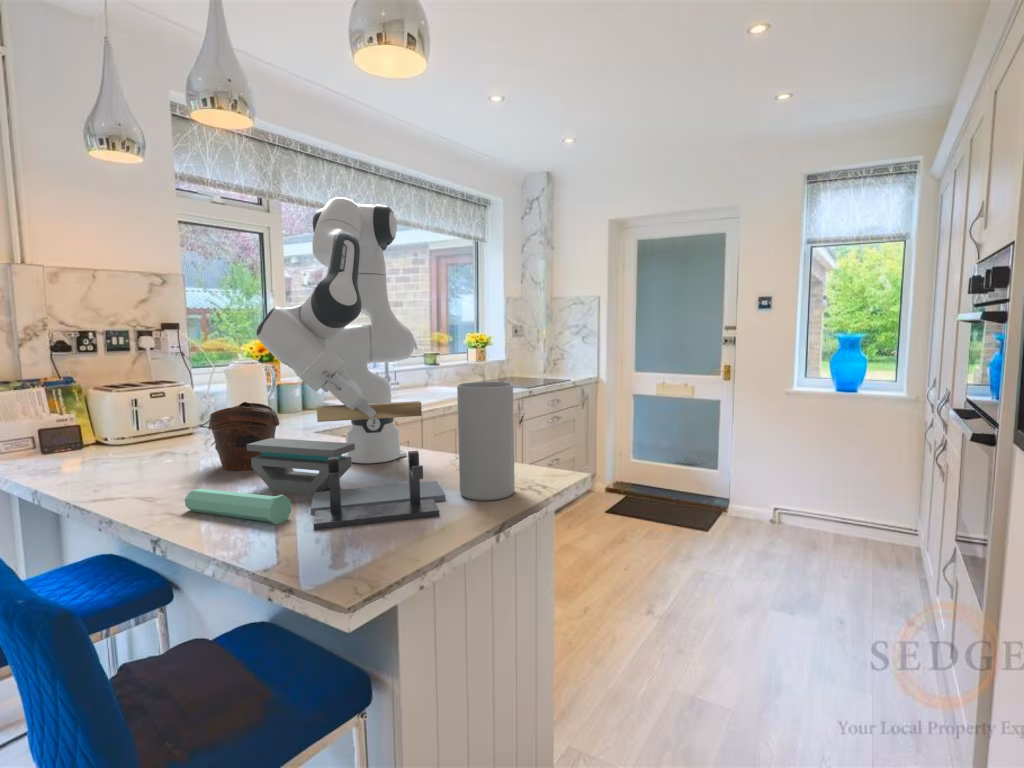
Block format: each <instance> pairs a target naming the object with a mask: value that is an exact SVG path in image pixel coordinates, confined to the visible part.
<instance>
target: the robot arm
mask: <svg viewBox="0 0 1024 768" xmlns="http://www.w3.org/2000/svg"><path fill="white" fill-rule="evenodd" d="M397 229H398V222H397V219H396V217H395V214H394V211H393V210H392V208H390V206H387V205H385V204H383V205H382V204H378V203H377V204H375V205H374V204H363V203H361V204H360V203H356V202H355V201H353V200H352V199H350V198H347V197H334V198H332V199H330V200H328V201H327V202H326V204H325V205H324V207H322V208H320V209H317V211H316V212H315V213H314V214H313V217H312V231H313V237H312V254H313V255H314V257H315V258H316V259H317V261H318V262H319V263H320V264H322V265H323V266H325V267H327V273H326V276H325V277H324V278H322V280H321V281H319V283H318V284H317V285H316V287H315V288H314V290H313V291H312V293H311V294H310V295H309V297H308V298H307V299H306V300H305V302H304V303H303V304H302V303H301V304H299V305H297V306H292V307H291V306H290V307H280V306H274V307H272V308H271V309H270V310H269V311H268V313H267V314H266V316H265V317H264V319H263V320H262V321H261V322H260V324H259V325H258V326H257V328H256V332H255V333H256V337H257V339H258V340H259V342H260V343H261V344H262V345H263V347H264V348H265V349H266V350H267V351H268V352H269V353H270V354H271V355H273V357H275V358H276V359H277V360H278V361H279V362H281V363H282V364H283V365H285V366H288V367H289V368H290V369H292V370H293V371H294V372H293V373H295V375H296V376H297V377H298V378H299V379H301V380H302V381H303V382H304V383H305V384H306V385H307V386H308V387H309V388H311V389H312V390H313V391H314V392H317V391H319V390H320V389H321V390H323V392H325V393H328V392H330V393H331V394H332V395H333V396H334V397H335V398H336V399H337V400H338V401H339V402H341V403H342V405H345V406H346V407H348V408H349V409H350V410H354V409H355V408H356V407H357V408H358V409H359V410H360V411H362V412H364V413H365V414H366V415H367V416H369V417H370V418H372V417H373V416H374V415H375V414H376V411H375V410H374V409H373V408H372V407H371V406H369V405H368V404H372V403H391V402H392V395H391V393H392V392H391V390H392V389H391V384H390V382H389V381H388V380H387V379H386V378H384V377H383V376H382V375H381V376H380V375H378V374H376V373H373V372H371V371H370V369H369V368H368V365H369V364H373V363H374V364H376V363H377V364H378V363H380V364H381V363H395V362H399V361H403V360H407V359H409V358H410V357H411V356H412V354H413V352H414V350H415V337H414V335H413V332H412V331H411V329H409V327H407V326H405V325H404V324H403V323H402V322H401V321H400V320H399V319H398V318H397V317H396V315H395V314H394V312H393V311H392V308H391V306H390V301H389V297H388V285H387V269H386V268H387V267H386V261H385V260H386V259H385V255H384V251H386V250H387V247H388V246H389V245H391V244H392V243H393V242H394V240H395V238H396V235H397ZM360 313H361V314H364V315H366V316H368V318H369V319H370V323H369V324H351V323H352V322H353V321H354V320H356V319H357V318H358V317H359V316H360ZM350 423H351V427H349V429H348V431H346V434H345V443H355V450H353V451H350V452H347V453H344V454H342V456H346V457H351V463H353V464H354V463H355V464H378V463H385V462H390V461H393V460H397V459H399V458H403V457H408V454H407V452H406V451H405V450H403V449H402V448H401V443H400V429H399V428H398V427H397V425H395V424H394V418H378V419H361V420H350Z"/></svg>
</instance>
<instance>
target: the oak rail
mask: <svg viewBox="0 0 1024 768" xmlns="http://www.w3.org/2000/svg"><path fill="white" fill-rule="evenodd" d="M368 405H369V406H371V407H372V408H373V409H374V410H375V411H376V414H375V415H374V416H373V417H372V418H370V417H369V416H367V415H366V414H365V413H364V412H362V411H360V410H359V409H358V408H357V407H356V408H355V409H354V410H350V409H349V408H348V407H346V406H345V405H344V404H339V405H337V404H336V405H318V406H316V420H317V421H316V422H317V423H321V422H322V423H325V422H327V423H328V422H340V421H341V422H343V421H351V420H361V419H378V418H393V419H395V418H406V417H407V418H409V417H410V418H411V417H422V416H423V413H422V412H423V411H422V402H421V401H420V400H414V401H413V400H412V401H411V400H410V401H396V402H395V401H394V402H392V401H391V403H372V404H368Z"/></svg>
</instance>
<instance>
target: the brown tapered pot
mask: <svg viewBox="0 0 1024 768" xmlns="http://www.w3.org/2000/svg"><path fill="white" fill-rule="evenodd" d="M277 426H280V419H279V417H278V414H277V412H276V411H275V409H274V408H273V407H271V406H270V405H267V404H265V403H257V402H247V401H244V402H242V403H239V404H238V405H235V406H231V407H226V408H223V409H218V410H216V411H214V412H212V413H210V416H209V423H208V429H210V430H211V432H212V435H213V439H214V442H213V443H211V445H210V446H211V447H212V446H213V445H215V447H214V448H215V450H216V452H217V454H218V457H219V460H220V463H221V467H222V469H224V470H227V471H245V470H252V469H253V468H252V465H251V458H253V457H257V456H260V455H261V452H259V451H247V444H250V443H254V442H257V441H261V440H265V439H269V438H275V435H276V429H277ZM253 470H254V469H253Z"/></svg>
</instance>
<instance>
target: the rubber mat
mask: <svg viewBox="0 0 1024 768" xmlns="http://www.w3.org/2000/svg"><path fill="white" fill-rule="evenodd" d="M340 495H341V508H349V507H359V506H369V505H379V504H388V503H398V502H408V501H410V494H409V483H401V484H389V485H380V486H379V485H378V486H368V487H360V488H359V487H358V488H357V487H355V488H347V489H340ZM428 499H433V500H434V501H435V502H440V501H446V493H445V491H444V490H443V489H442V487H441V486H440V484H439V482H438V481H437V480H433V481H423V482H422V481H421V482H420V500H428ZM329 509H331V508H330V490H324V491H323V490H322V491H320V492H314V494H313V495H312V500H311V505H310V515H315V511H320V510H329Z"/></svg>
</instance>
